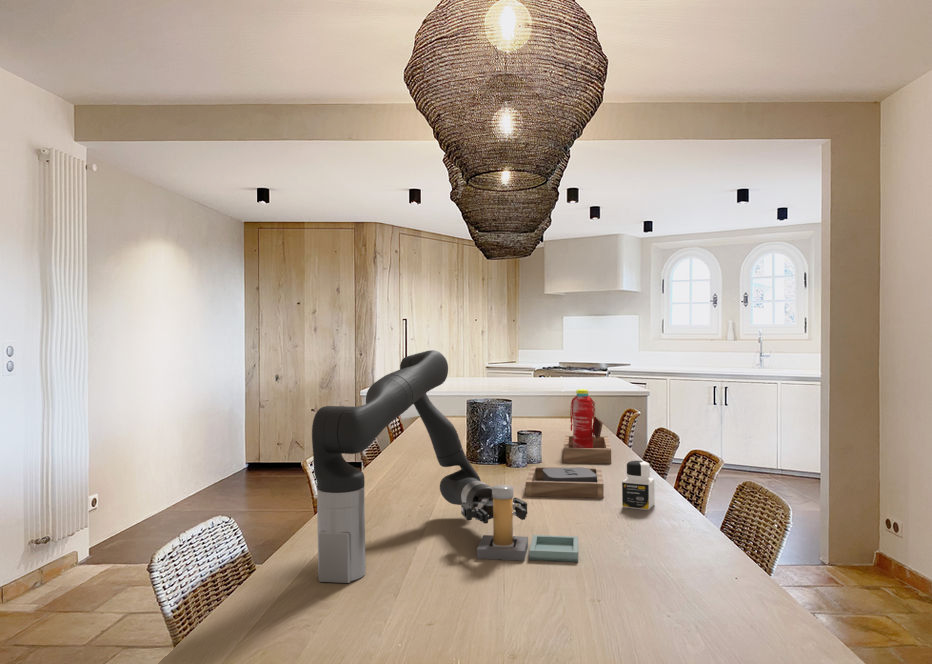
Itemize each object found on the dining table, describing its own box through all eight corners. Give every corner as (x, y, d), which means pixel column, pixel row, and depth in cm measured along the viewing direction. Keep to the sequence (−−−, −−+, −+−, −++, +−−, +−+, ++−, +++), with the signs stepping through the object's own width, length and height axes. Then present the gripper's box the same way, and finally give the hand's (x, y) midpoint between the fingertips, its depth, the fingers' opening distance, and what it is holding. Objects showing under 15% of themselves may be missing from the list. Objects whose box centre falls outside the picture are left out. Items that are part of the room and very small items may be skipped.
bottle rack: (611, 463, 245) (611, 449, 245) (563, 462, 248) (563, 448, 248) (607, 448, 275) (607, 436, 275) (565, 448, 277) (565, 435, 277)
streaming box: (599, 494, 201) (599, 476, 201) (550, 496, 199) (550, 478, 199) (586, 483, 215) (586, 467, 215) (541, 484, 214) (540, 468, 214)
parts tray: (578, 562, 142) (578, 552, 142) (529, 560, 144) (529, 550, 144) (578, 545, 153) (578, 536, 153) (533, 543, 154) (533, 534, 154)
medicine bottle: (622, 507, 185) (621, 462, 185) (628, 501, 191) (628, 458, 191) (648, 510, 181) (648, 465, 181) (654, 504, 188) (654, 460, 188)
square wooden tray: (603, 497, 196) (603, 483, 196) (526, 495, 199) (525, 481, 199) (601, 480, 217) (601, 468, 217) (531, 479, 221) (531, 466, 221)
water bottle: (602, 453, 264) (602, 388, 264) (603, 457, 256) (602, 390, 256) (571, 453, 266) (570, 388, 266) (570, 456, 258) (569, 390, 258)
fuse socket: (524, 560, 143) (524, 551, 143) (476, 558, 145) (476, 549, 145) (528, 545, 153) (528, 536, 153) (483, 543, 155) (483, 535, 155)
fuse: (512, 555, 146) (512, 490, 146) (491, 555, 147) (490, 489, 147) (514, 549, 151) (514, 485, 151) (494, 548, 152) (493, 484, 152)
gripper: (451, 486, 161) (473, 502, 145) (508, 481, 165) (536, 496, 150) (452, 518, 161) (474, 537, 145) (509, 512, 165) (536, 531, 150)
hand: (505, 516), depth 147 cm, fingers open, 8 cm apart
